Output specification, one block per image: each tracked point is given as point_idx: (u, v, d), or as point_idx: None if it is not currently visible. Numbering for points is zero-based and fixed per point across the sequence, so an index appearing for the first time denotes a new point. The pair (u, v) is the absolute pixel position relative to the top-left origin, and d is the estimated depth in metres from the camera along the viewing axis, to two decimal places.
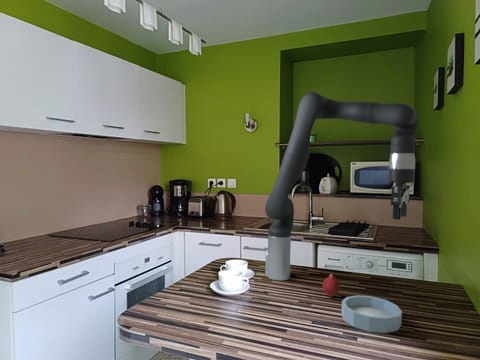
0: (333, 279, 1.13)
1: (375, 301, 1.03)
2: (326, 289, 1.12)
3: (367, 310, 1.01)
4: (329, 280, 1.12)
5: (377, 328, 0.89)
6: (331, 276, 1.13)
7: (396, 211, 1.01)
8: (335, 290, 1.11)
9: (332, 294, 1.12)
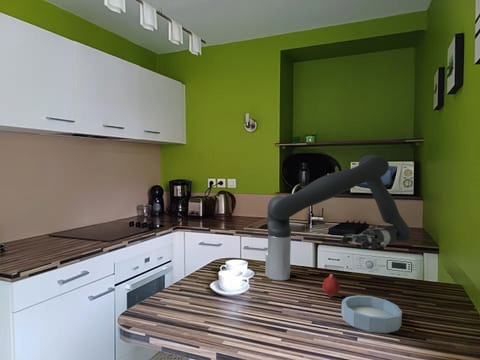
0: (333, 279, 1.13)
1: (375, 301, 1.03)
2: (326, 289, 1.12)
3: (367, 310, 1.01)
4: (329, 280, 1.12)
5: (377, 328, 0.89)
6: (331, 276, 1.13)
7: (368, 245, 1.17)
8: (335, 290, 1.11)
9: (332, 294, 1.12)
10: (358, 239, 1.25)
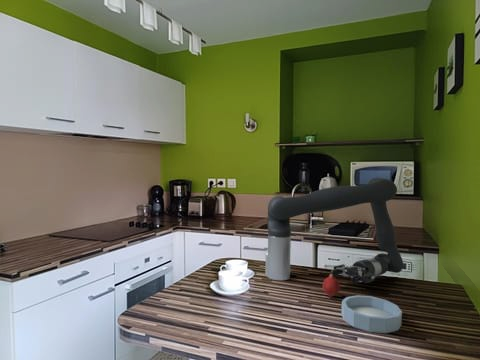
0: (333, 279, 1.13)
1: (375, 301, 1.03)
2: (326, 289, 1.12)
3: (367, 310, 1.01)
4: (329, 280, 1.12)
5: (377, 328, 0.89)
6: (331, 276, 1.13)
7: (358, 279, 1.15)
8: (335, 290, 1.11)
9: (332, 294, 1.12)
10: (348, 271, 1.22)
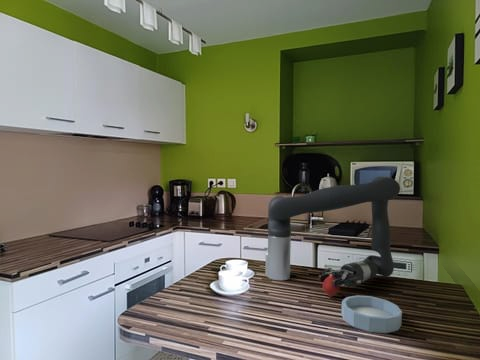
0: (333, 279, 1.13)
1: (375, 301, 1.03)
2: (326, 289, 1.12)
3: (367, 310, 1.01)
4: (329, 280, 1.13)
5: (377, 328, 0.89)
6: (331, 276, 1.13)
7: (340, 283, 1.11)
8: (335, 290, 1.11)
9: (332, 294, 1.12)
10: (338, 276, 1.17)
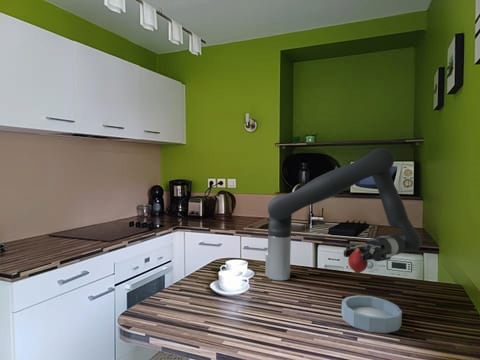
0: (360, 253, 1.02)
1: (375, 301, 1.03)
2: (353, 264, 1.01)
3: (367, 310, 1.01)
4: (356, 255, 1.02)
5: (377, 328, 0.89)
6: (358, 250, 1.02)
7: (369, 257, 1.00)
8: (363, 265, 1.00)
9: (359, 270, 1.01)
10: (364, 250, 1.06)
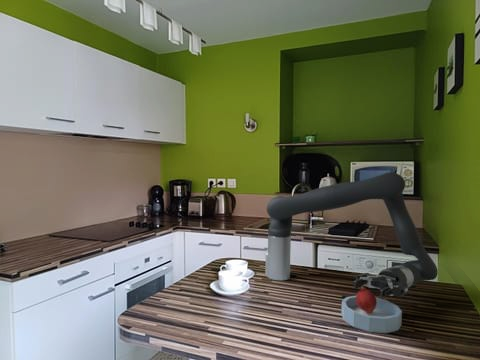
0: (365, 290, 0.98)
1: None
2: (361, 303, 0.97)
3: None
4: (361, 293, 0.98)
5: (377, 328, 0.89)
6: (362, 288, 0.99)
7: (389, 293, 0.93)
8: (371, 302, 0.96)
9: (370, 308, 0.96)
10: (375, 282, 1.00)
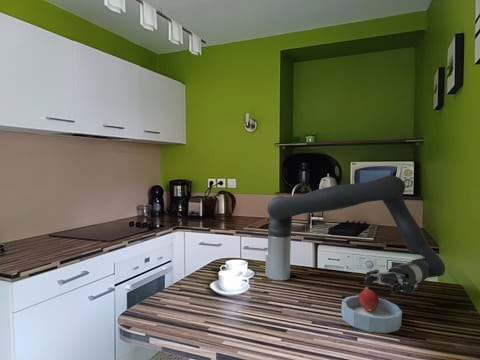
0: (370, 290, 1.02)
1: None
2: (364, 296, 0.99)
3: (367, 310, 1.01)
4: (366, 289, 1.02)
5: (377, 328, 0.89)
6: (367, 288, 1.03)
7: (399, 289, 0.96)
8: (374, 296, 0.99)
9: (372, 303, 0.98)
10: (385, 279, 1.04)
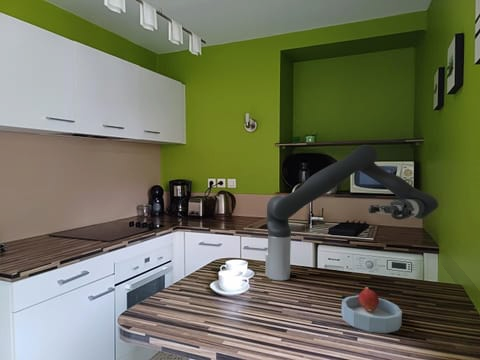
0: (370, 290, 1.02)
1: None
2: (364, 296, 0.99)
3: (367, 310, 1.01)
4: (366, 289, 1.02)
5: (377, 328, 0.89)
6: (367, 288, 1.03)
7: (399, 213, 1.12)
8: (374, 296, 0.99)
9: (372, 303, 0.98)
10: (387, 209, 1.20)
